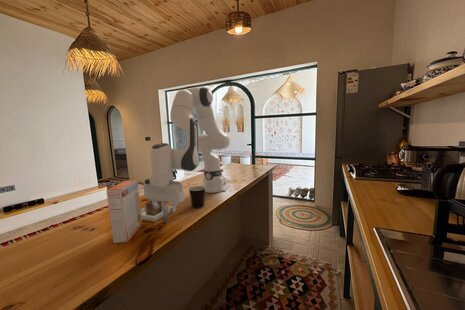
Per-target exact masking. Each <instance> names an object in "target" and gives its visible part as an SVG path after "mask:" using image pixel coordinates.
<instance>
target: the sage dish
mask: <svg viewBox="0 0 465 310" xmlns="http://www.w3.org/2000/svg"><path fill="white" fill-rule="evenodd" d="M172 206H173V205H167V209H168V215H169V214H171V213H172V212H171V209H170V208H171V207H172ZM141 217H142V221H147V222H152V223H155V222H157V221H159V220H161V219H162V218H163V205H162V212H160V213H159V214H157V215H155V216H153V215H147V214H146V209H145V207H144V208H142V209H141Z"/></svg>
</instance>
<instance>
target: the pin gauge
mask: <svg viewBox="0 0 465 310" xmlns="http://www.w3.org/2000/svg"><path fill="white" fill-rule="evenodd" d="M161 202H162V205H163V217H162V218H163V223H165V224H166V223H169V214H168V209H167V206H168V202H165V201H161Z"/></svg>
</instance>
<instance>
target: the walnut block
mask: <svg viewBox="0 0 465 310" xmlns="http://www.w3.org/2000/svg"><path fill="white" fill-rule="evenodd" d="M157 203H158V204H159V209H154V205H153V203H152V200H150V199H149V200H148V201H146V202H144V208H145V209H146V214H147V215H153V216H155V215H157V214H159V213H160V212H162V201H158V200H157Z"/></svg>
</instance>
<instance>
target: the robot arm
mask: <svg viewBox="0 0 465 310" xmlns="http://www.w3.org/2000/svg"><path fill="white" fill-rule="evenodd" d="M213 100H214V97H213V92H212V90H211V89H210V87H207V86H202V87H191V88H187V89H180V90H178V91H177V92H176V93H175V96H174V98H173V101H172V105H171V109H170V115H169V117H170V120H171V122H172V124H173V125H174V126H176V127H178V128H179V129H182V130H185V131H186V148H185V149H174V148H173V147H171V146H170V144H169V143H167V142H164V143H163V142H161V143H156V144H154V145H152V146H151V147H150V153H149V154H150V166H151V170H152V171H151V176H150V177H148V178H145V179H143V183H142V184H144V185H143V195H144V198H145V199H147V200H149V201H150V200H152V203H153V205H154V209H159V204H158V203H157V200H158V201H161V202H162V201H165V202H167V203H171V206H172V207H171V208H170V209H171V213H174V212H176V207H177V206H178V204H181V203H182V202H184V201H185V192H184V188H183V187H184V186H183V184H182V183H181V182H180V181H178V180H177V181H175V180H174V174H173V173H174V172H173V170H175V171H176V170H177V171H187V172H192V171H194V170H195V169H196V168H197V167H198V166H199V164H200V154H201V156H202V159H203V166H204V170H203V176H204V177H203V178H202V186H203V187H205V193H214V194H215V193H220V192H226V191H227V190H228V189H229V188H230V186H231V184H230V183H228V182H227V177H226V176H224V174H223V173H224V168H221V159H220V157H219V156H218V155H216V154H215V153H214V151H220V150H221V151H222V150H226V149H227V148H228V147H229V145H230V141H231V140H230V137H229V136H228V135H227V134H226V133H224V132H223V131H222V130H221V129H220V128H219V126H218V125H217V122H216V119H215V114H214V109H213V106H212V103H213ZM194 113H195V116H196V119H195V118H194ZM198 128H199V129H200V130H202V131H204V132H205V133H202V134H199V130H198ZM199 153H200V154H199Z"/></svg>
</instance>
